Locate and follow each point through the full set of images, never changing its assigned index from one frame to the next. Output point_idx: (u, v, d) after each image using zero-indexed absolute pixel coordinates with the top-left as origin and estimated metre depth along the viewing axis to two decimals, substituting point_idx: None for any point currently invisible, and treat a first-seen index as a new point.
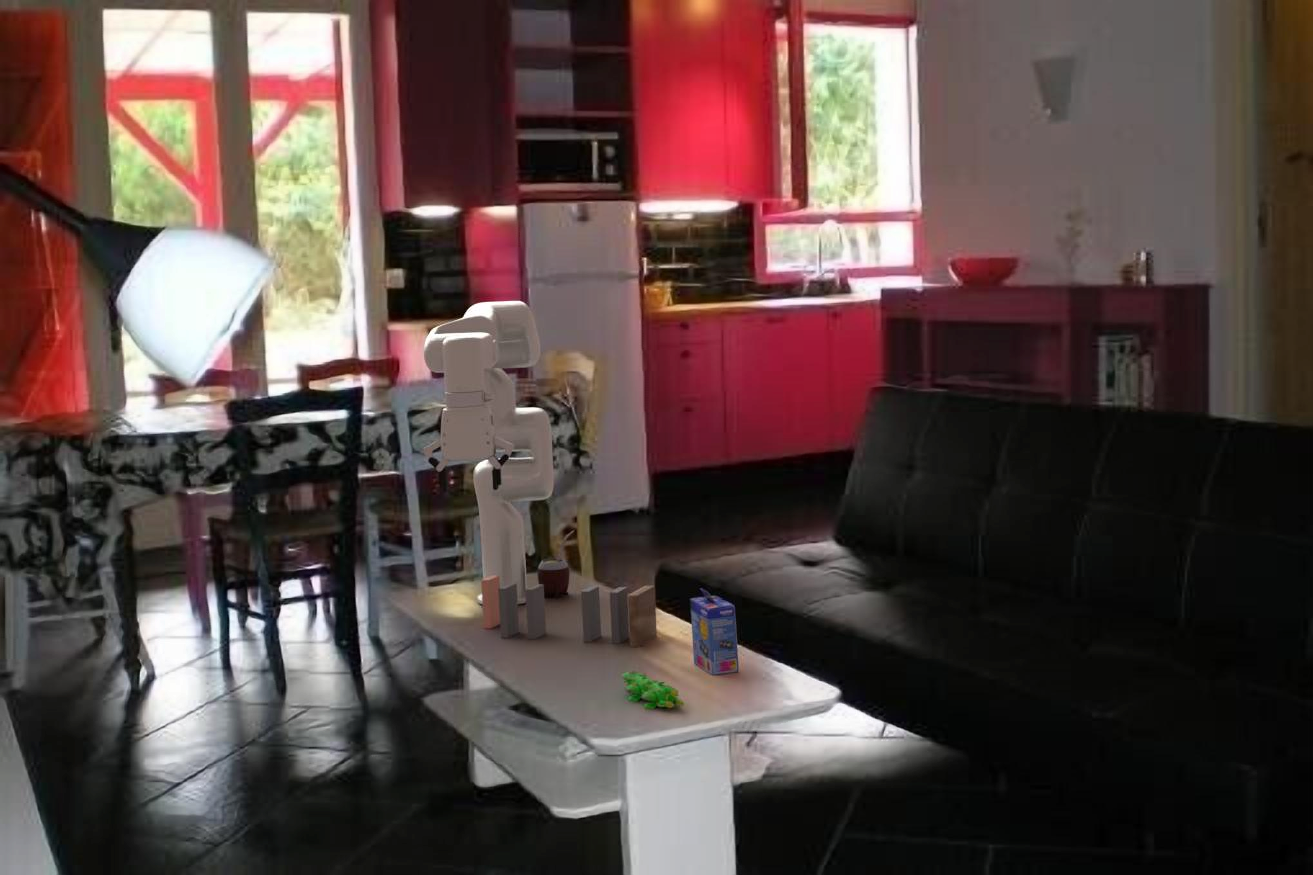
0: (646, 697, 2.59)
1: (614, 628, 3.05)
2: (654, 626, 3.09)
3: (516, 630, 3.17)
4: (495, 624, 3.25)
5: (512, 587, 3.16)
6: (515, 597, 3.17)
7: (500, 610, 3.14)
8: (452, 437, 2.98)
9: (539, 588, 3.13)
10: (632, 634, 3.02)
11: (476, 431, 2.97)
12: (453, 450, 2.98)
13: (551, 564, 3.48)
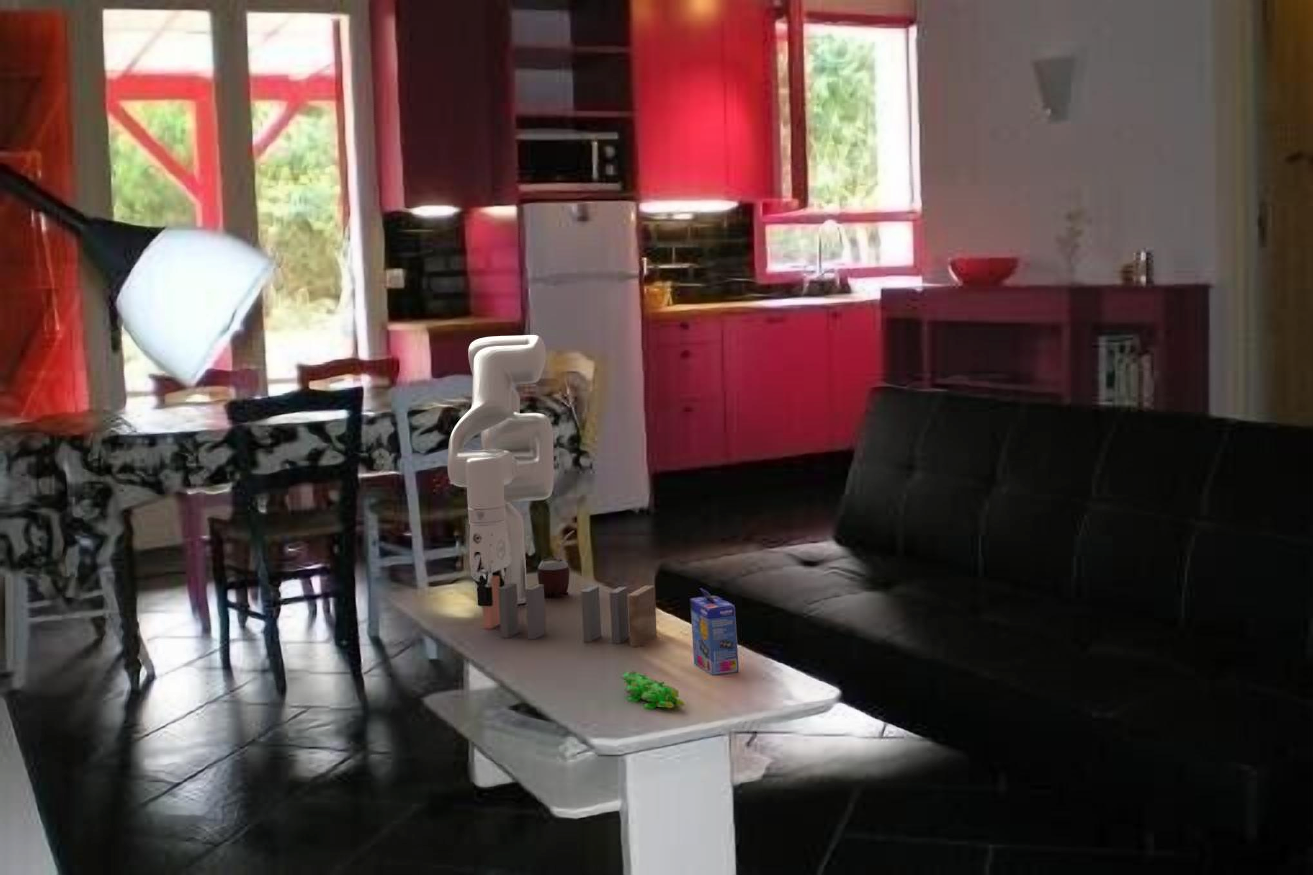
0: (646, 698, 2.59)
1: (614, 628, 3.05)
2: (654, 626, 3.09)
3: (516, 630, 3.17)
4: (495, 624, 3.25)
5: (512, 587, 3.16)
6: (515, 597, 3.17)
7: (500, 610, 3.14)
8: None
9: (539, 588, 3.13)
10: (632, 634, 3.02)
11: None
12: None
13: (551, 564, 3.48)
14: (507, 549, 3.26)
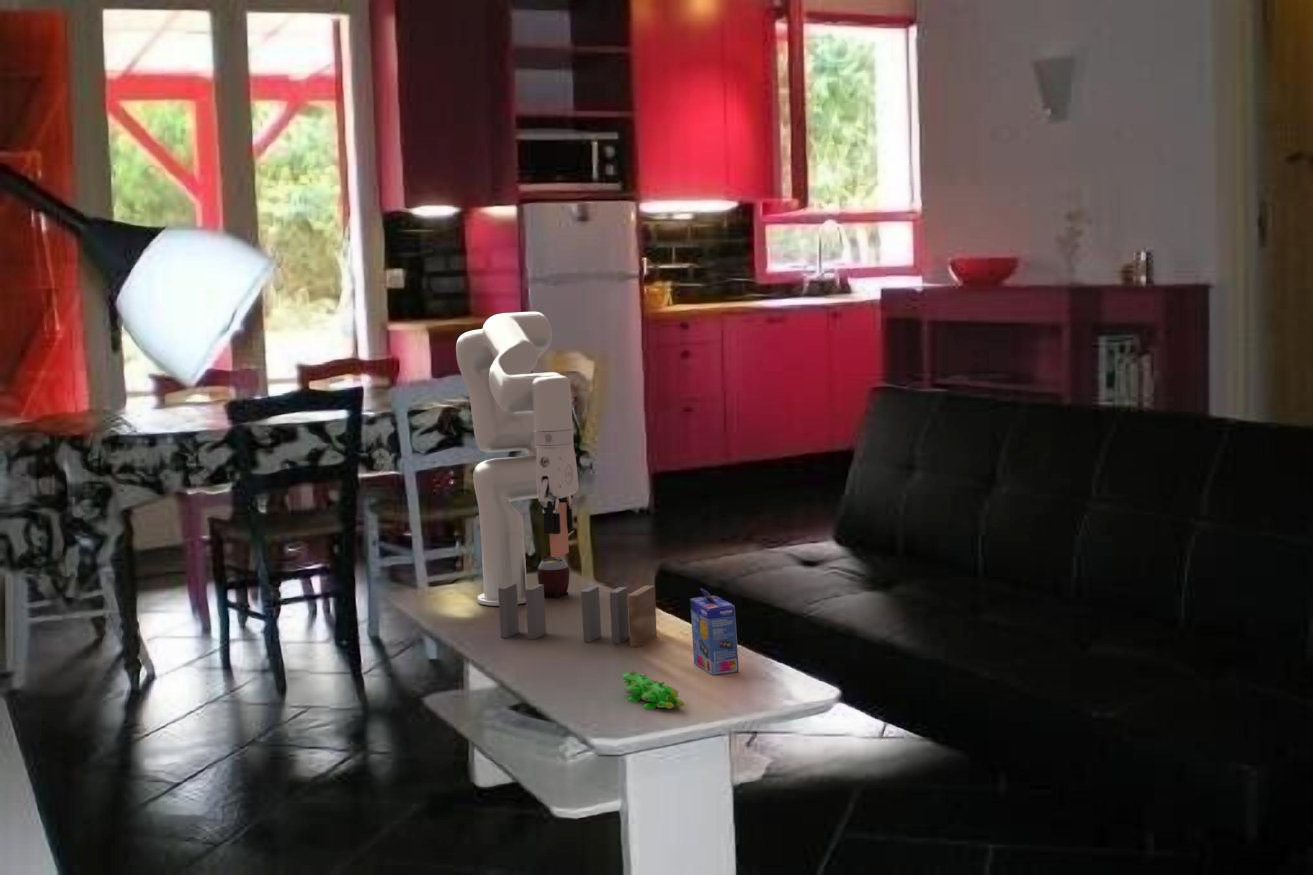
0: (645, 698, 2.59)
1: (614, 628, 3.05)
2: (654, 626, 3.09)
3: (516, 630, 3.17)
4: (562, 553, 3.10)
5: (512, 587, 3.16)
6: (515, 597, 3.17)
7: (500, 610, 3.14)
8: None
9: (539, 588, 3.13)
10: (632, 634, 3.02)
11: None
12: None
13: (551, 564, 3.48)
14: (575, 475, 3.10)
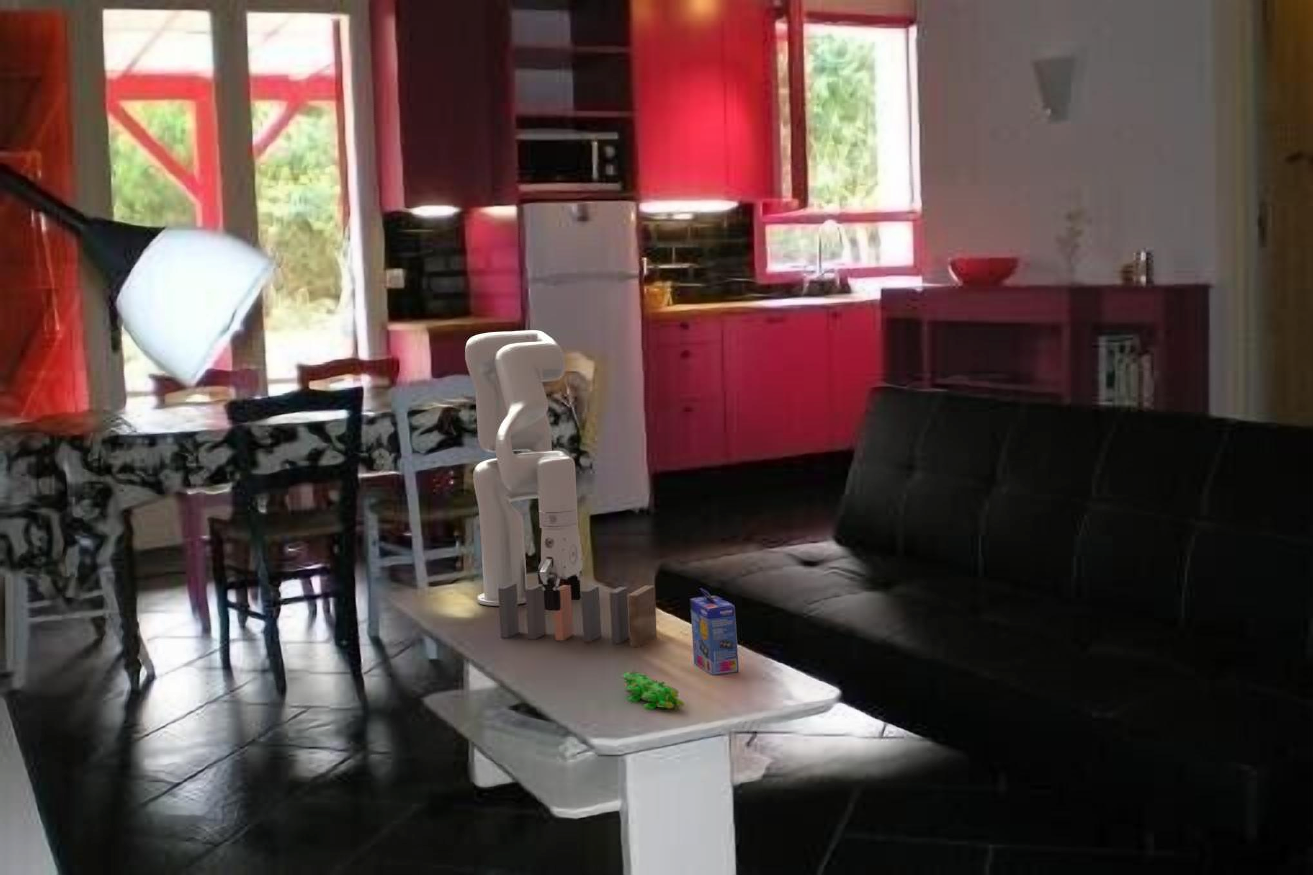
0: (646, 698, 2.59)
1: (614, 628, 3.05)
2: (654, 626, 3.09)
3: (516, 630, 3.17)
4: (567, 636, 3.11)
5: (512, 587, 3.16)
6: (515, 597, 3.17)
7: (500, 610, 3.14)
8: None
9: (539, 588, 3.13)
10: (632, 634, 3.02)
11: None
12: None
13: None
14: (579, 554, 3.12)
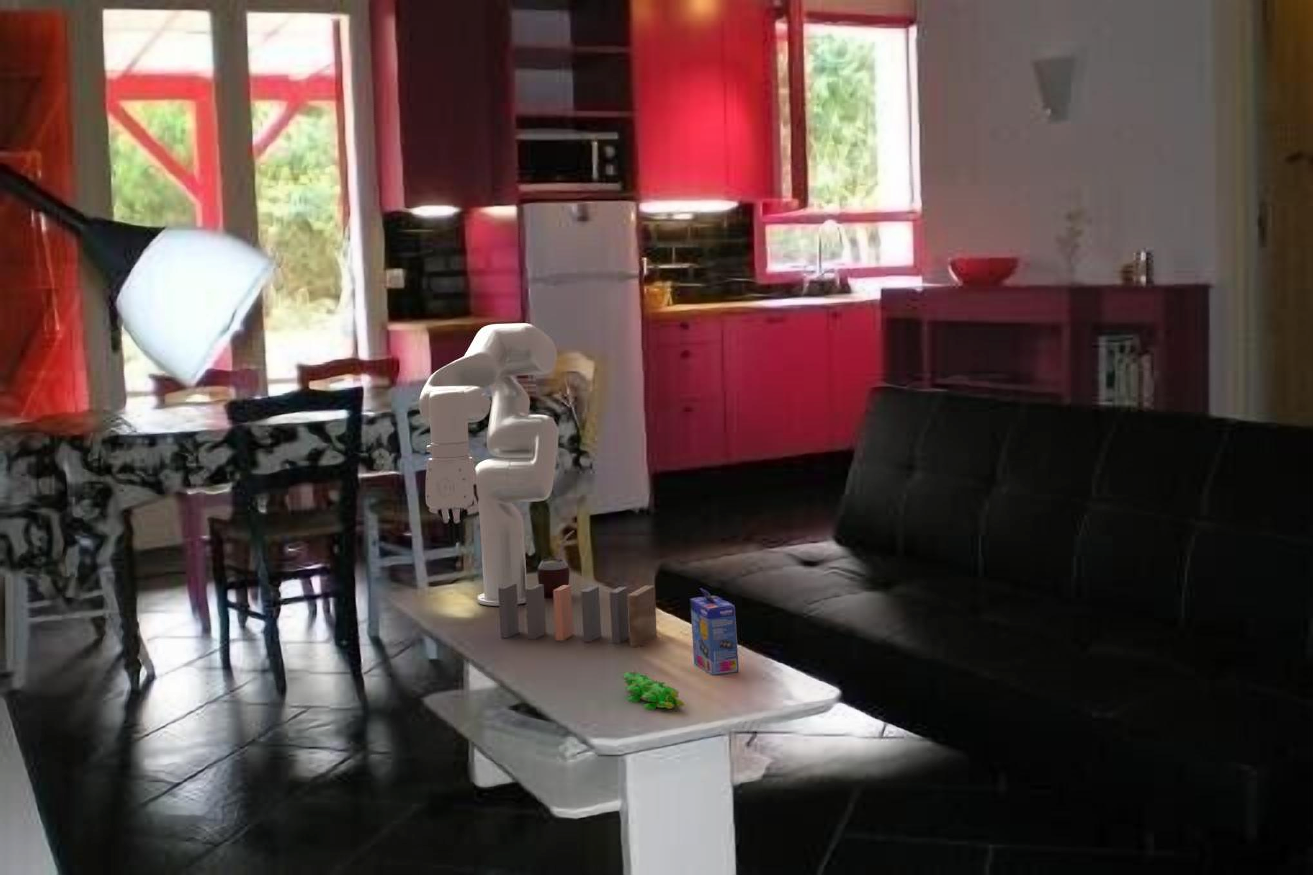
0: (646, 698, 2.59)
1: (614, 628, 3.05)
2: (654, 626, 3.09)
3: (516, 630, 3.17)
4: (567, 636, 3.11)
5: (512, 587, 3.16)
6: (515, 597, 3.17)
7: (500, 610, 3.14)
8: None
9: (539, 588, 3.13)
10: (632, 634, 3.02)
11: None
12: None
13: (551, 564, 3.48)
14: (459, 490, 3.13)
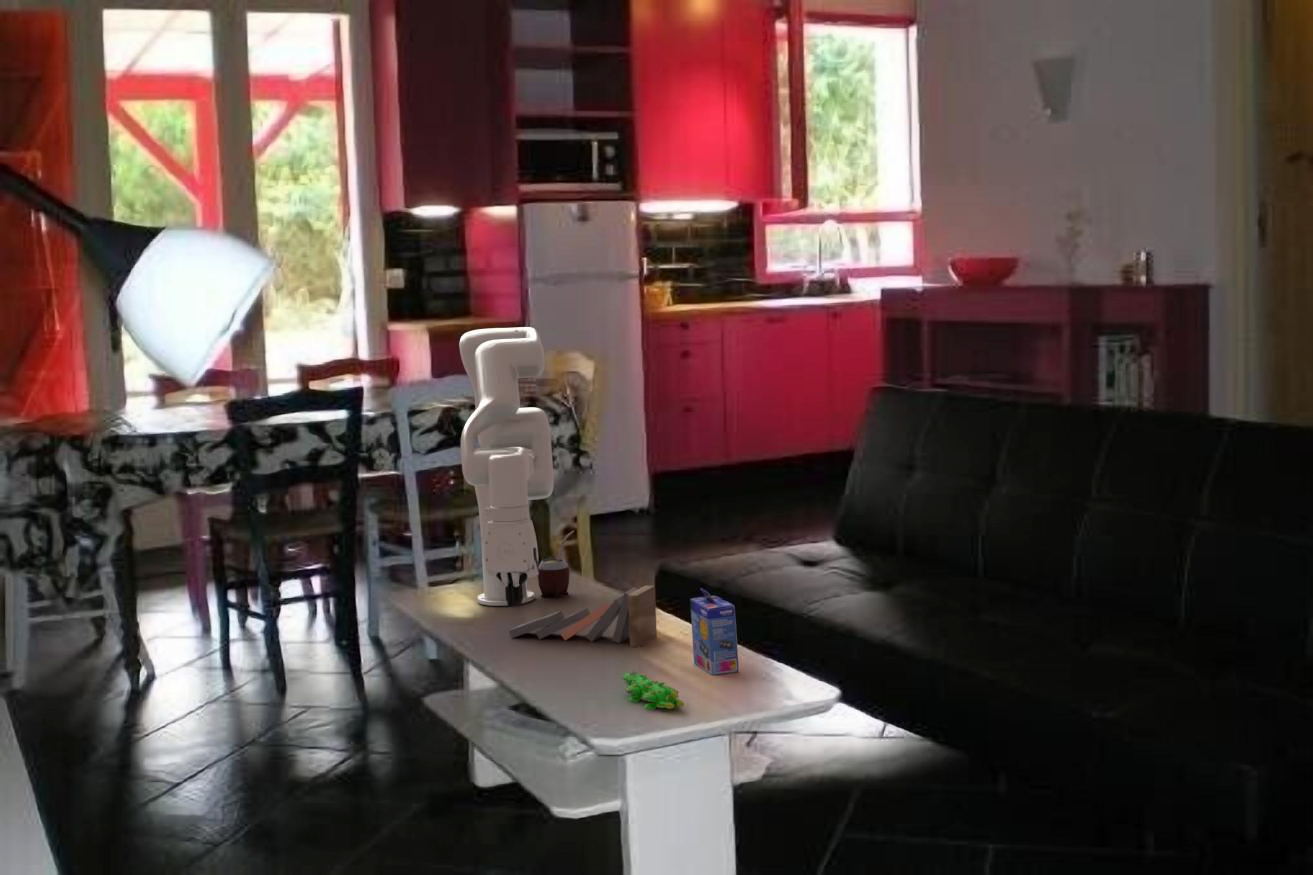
0: (646, 698, 2.59)
1: (618, 627, 3.05)
2: (654, 626, 3.09)
3: None
4: None
5: (558, 620, 3.13)
6: None
7: (532, 624, 3.11)
8: None
9: (584, 617, 3.11)
10: (632, 634, 3.02)
11: None
12: None
13: (551, 564, 3.48)
14: (519, 554, 3.10)
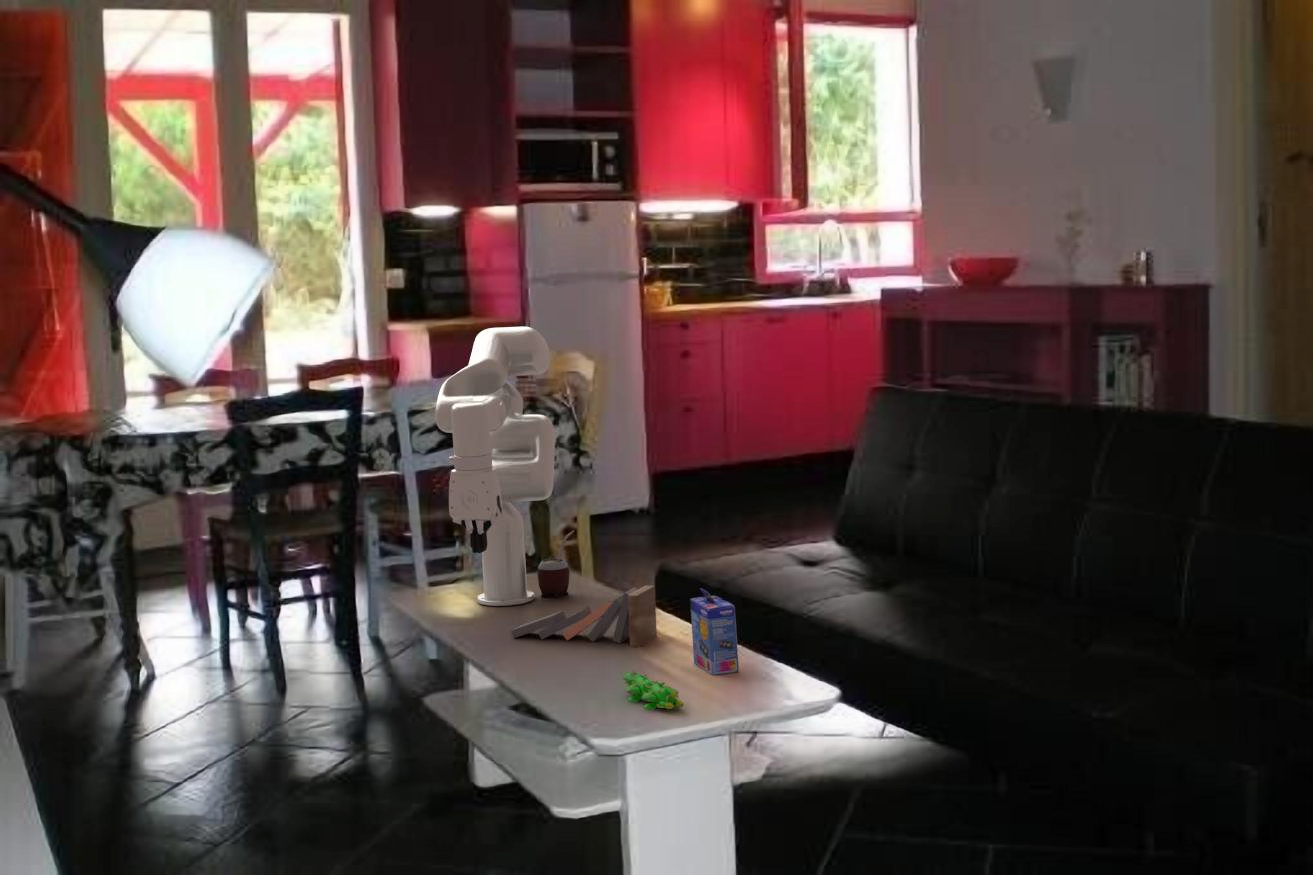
0: (646, 698, 2.59)
1: (618, 627, 3.05)
2: (654, 626, 3.09)
3: None
4: (572, 637, 3.11)
5: (560, 620, 3.13)
6: None
7: (533, 624, 3.11)
8: None
9: (586, 616, 3.10)
10: (632, 634, 3.02)
11: None
12: None
13: (551, 564, 3.48)
14: (483, 502, 3.15)
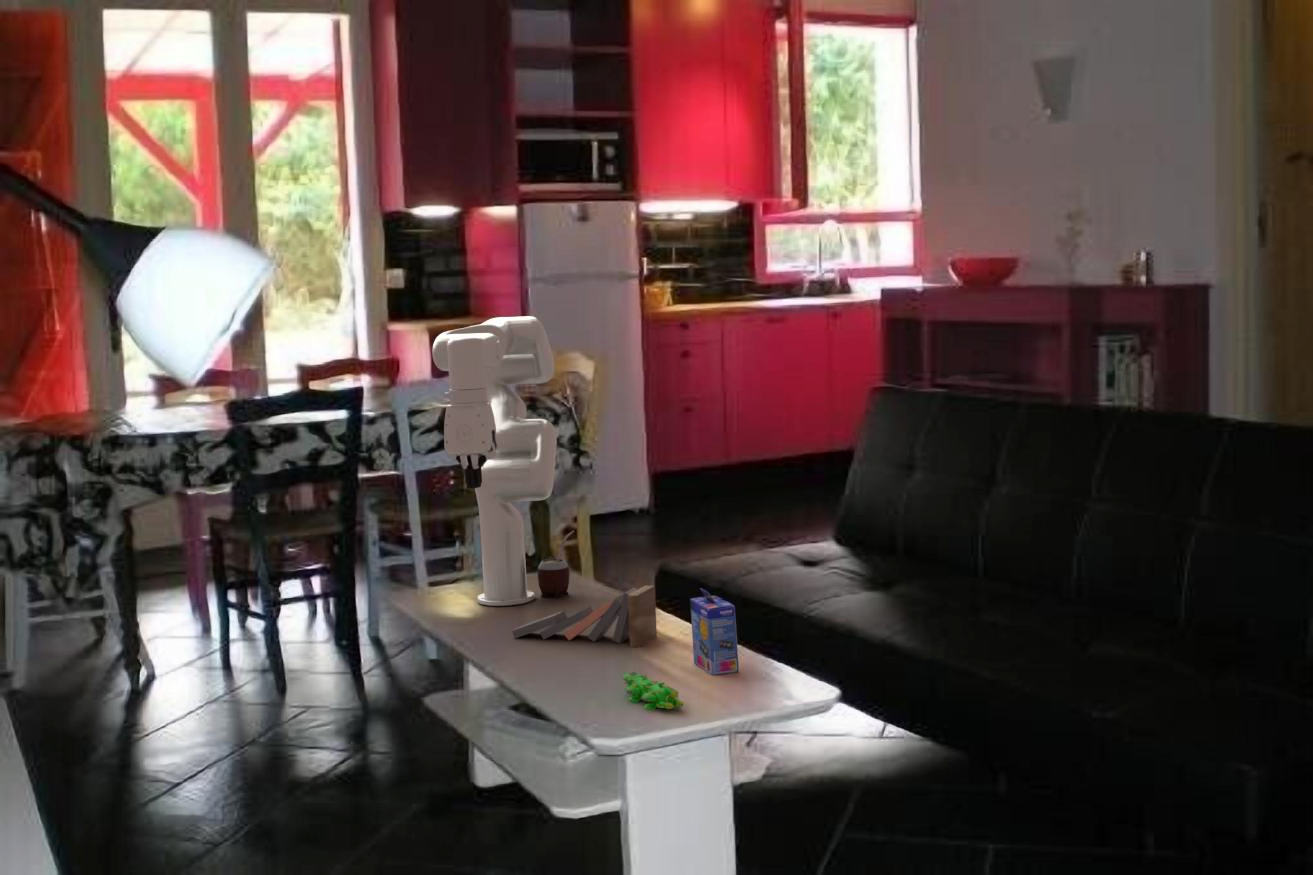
0: (646, 698, 2.59)
1: (618, 627, 3.05)
2: (654, 626, 3.09)
3: None
4: None
5: (561, 620, 3.12)
6: None
7: (535, 624, 3.11)
8: None
9: None
10: (632, 634, 3.02)
11: None
12: None
13: (551, 564, 3.48)
14: (478, 436, 3.15)
